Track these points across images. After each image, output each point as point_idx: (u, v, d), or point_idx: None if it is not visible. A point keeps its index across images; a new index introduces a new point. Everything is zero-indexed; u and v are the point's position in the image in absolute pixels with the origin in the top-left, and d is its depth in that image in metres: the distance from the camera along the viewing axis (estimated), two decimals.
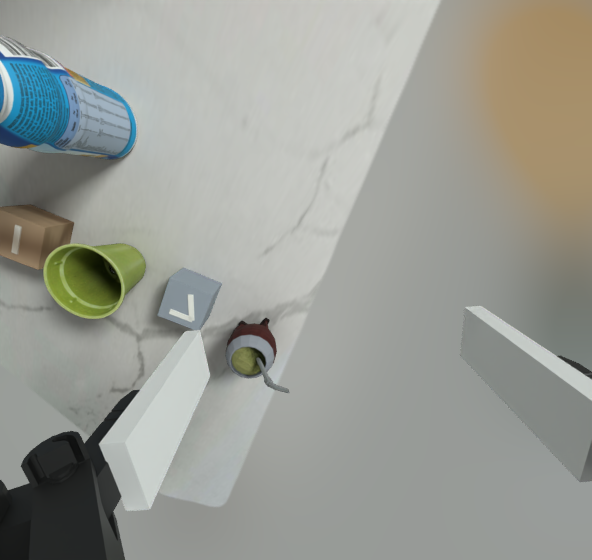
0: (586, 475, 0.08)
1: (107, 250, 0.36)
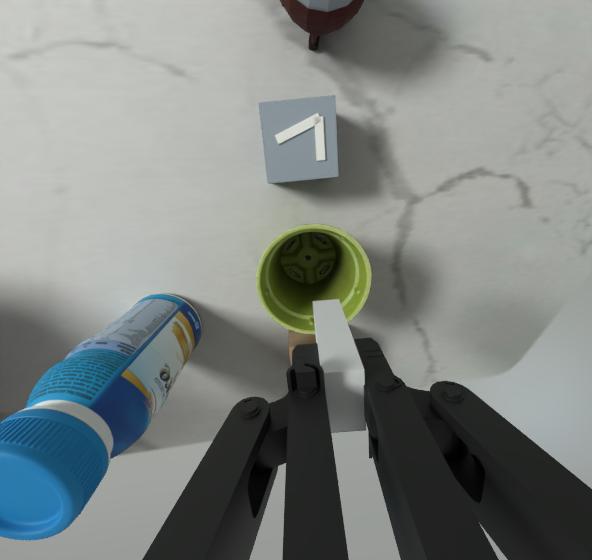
0: (349, 426, 0.11)
1: (269, 274, 0.26)
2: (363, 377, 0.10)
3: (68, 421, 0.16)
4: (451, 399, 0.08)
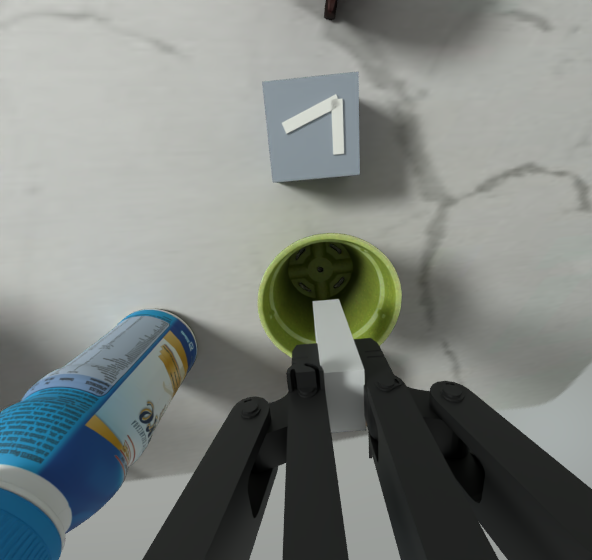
0: (349, 426, 0.11)
1: (274, 291, 0.21)
2: (363, 377, 0.10)
3: (2, 501, 0.12)
4: (451, 399, 0.08)
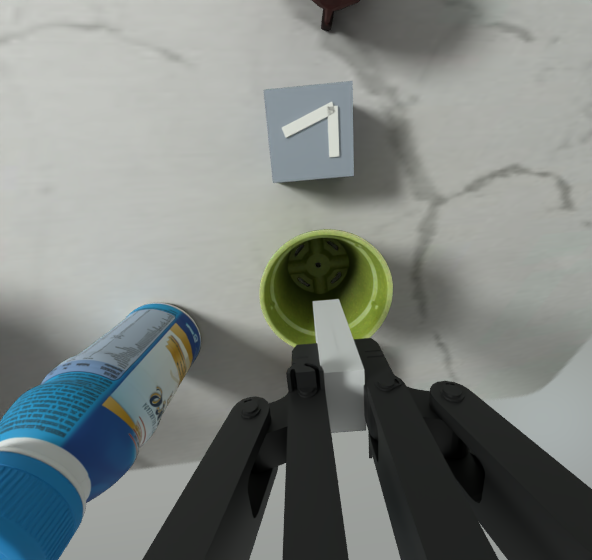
0: (349, 426, 0.11)
1: (274, 284, 0.23)
2: (363, 377, 0.10)
3: (32, 467, 0.14)
4: (451, 399, 0.08)
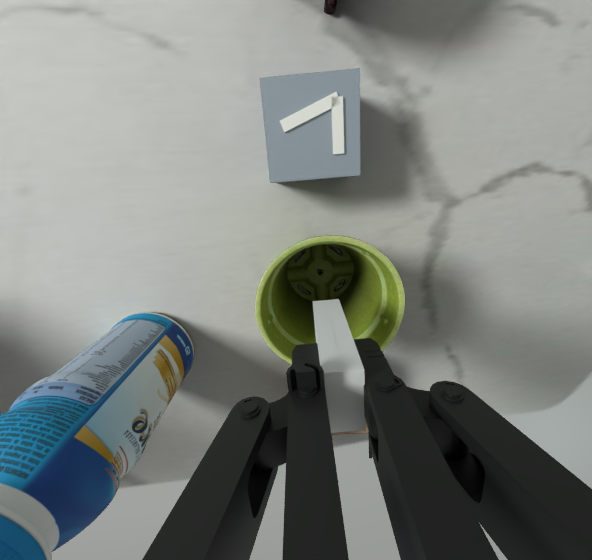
0: (349, 426, 0.11)
1: (272, 295, 0.21)
2: (363, 377, 0.10)
3: None
4: (451, 399, 0.08)
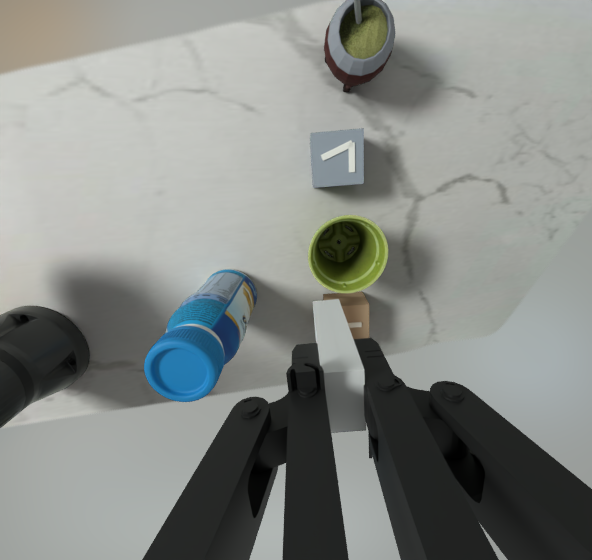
0: (349, 426, 0.11)
1: (314, 251, 0.36)
2: (363, 377, 0.10)
3: (205, 332, 0.27)
4: (451, 399, 0.08)
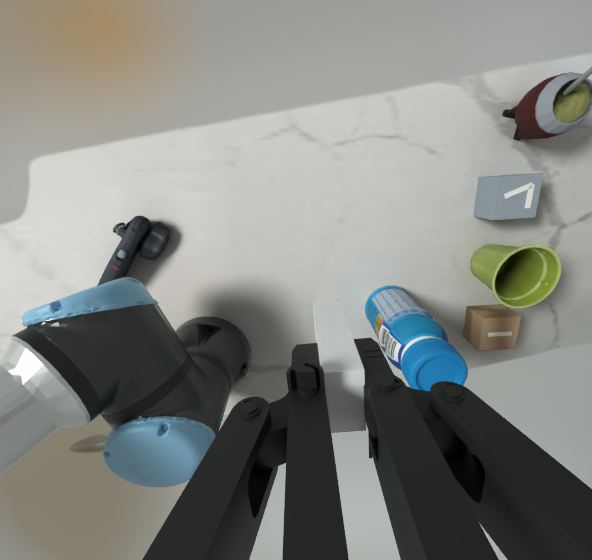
0: (349, 426, 0.11)
1: (487, 272, 0.43)
2: (363, 377, 0.10)
3: (448, 343, 0.34)
4: (451, 399, 0.08)
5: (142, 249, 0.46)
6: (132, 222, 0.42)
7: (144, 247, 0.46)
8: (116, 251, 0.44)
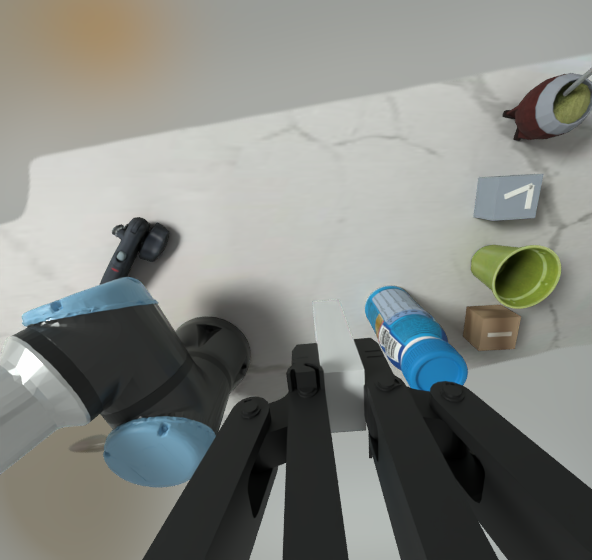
0: (349, 426, 0.11)
1: (487, 273, 0.43)
2: (363, 377, 0.10)
3: (448, 344, 0.34)
4: (451, 399, 0.08)
5: (141, 251, 0.46)
6: (130, 224, 0.42)
7: (143, 248, 0.46)
8: (115, 253, 0.44)
